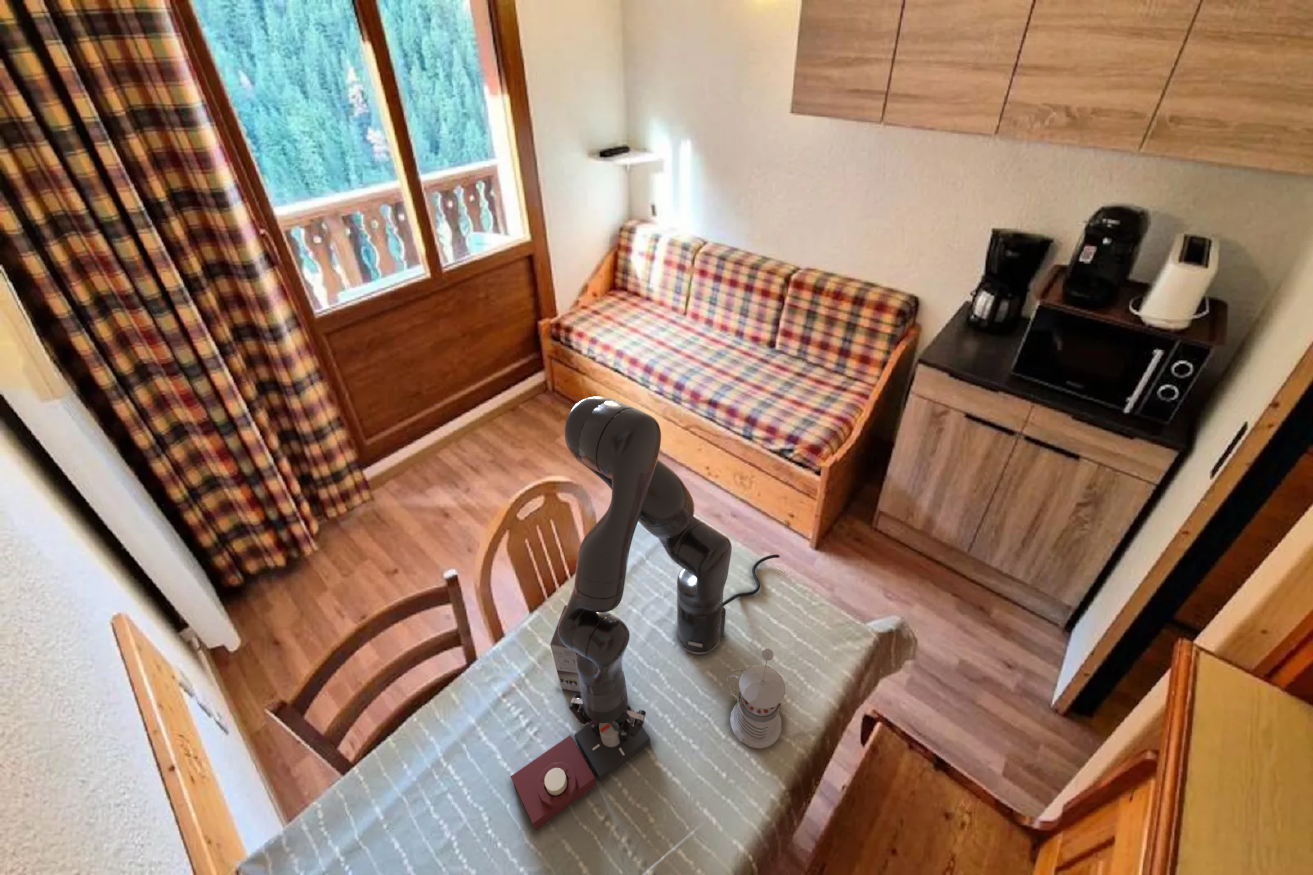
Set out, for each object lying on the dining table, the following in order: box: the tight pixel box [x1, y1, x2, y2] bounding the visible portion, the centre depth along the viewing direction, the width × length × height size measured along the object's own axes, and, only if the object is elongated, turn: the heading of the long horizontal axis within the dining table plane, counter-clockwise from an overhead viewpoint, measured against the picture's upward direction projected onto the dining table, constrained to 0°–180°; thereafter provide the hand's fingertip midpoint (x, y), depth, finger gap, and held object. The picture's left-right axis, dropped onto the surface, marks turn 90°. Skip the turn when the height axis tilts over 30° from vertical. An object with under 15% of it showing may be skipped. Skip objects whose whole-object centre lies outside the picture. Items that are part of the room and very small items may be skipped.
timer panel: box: [573, 718, 651, 782], centre depth 107 cm, size 11×9×3 cm
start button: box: [545, 768, 567, 795], centre depth 97 cm, size 4×4×2 cm
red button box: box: [510, 734, 598, 831], centre depth 101 cm, size 12×10×5 cm
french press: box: [726, 648, 786, 749], centre depth 102 cm, size 10×12×25 cm
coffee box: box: [549, 604, 581, 693], centre depth 114 cm, size 9×6×16 cm
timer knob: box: [599, 723, 620, 747], centre depth 104 cm, size 4×4×5 cm
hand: (611, 734), depth 106 cm, fingers closed on timer knob, 4 cm apart
